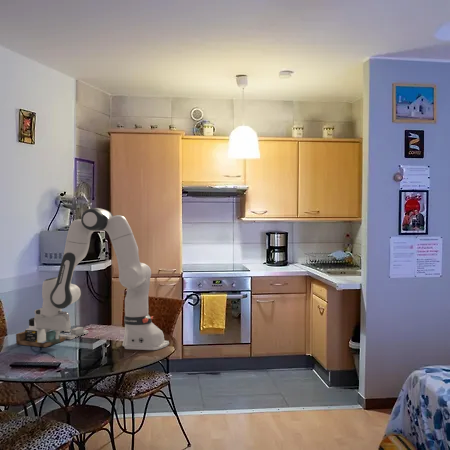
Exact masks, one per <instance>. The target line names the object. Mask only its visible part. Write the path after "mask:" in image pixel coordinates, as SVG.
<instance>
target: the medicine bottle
mask: <svg viewBox="0 0 450 450" xmlns="http://www.w3.org/2000/svg"><path fill="white" fill-rule="evenodd" d="M24 331H25V341H31V342H40V343H44V342H46V333H45V329H37V328H36V322H35V320H34V317H32V318H30V319H29V320H28V327H27V328H26V329H24Z"/></svg>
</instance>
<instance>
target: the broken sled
mask: <svg viewBox="0 0 450 450" xmlns="http://www.w3.org/2000/svg"><path fill="white" fill-rule="evenodd" d="M84 328H85V327H83V326H77V327H74V328H72V329H71V328H70V330H68V331H64V332H63V333H70V334H62V333H60V337H65V340H74V339H76V338H79V337H81V335H82V336H85V335H88V334H89V330H88V329H87V330H86V329H84ZM70 331H71V332H70ZM87 333H88V334H87ZM84 334H85V335H84ZM78 336H79V337H78ZM75 337H76V338H75Z"/></svg>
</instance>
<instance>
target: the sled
mask: <svg viewBox="0 0 450 450" xmlns="http://www.w3.org/2000/svg"><path fill="white" fill-rule="evenodd" d="M60 334H61V333H60ZM60 334H59V339H54V336H55V335H56V332H55V330H50V331H49V332H46V341H44V342H41V343H40V342H31V341H25V330H24V331H20V332H18V333H15V340H16V341H15V344H16V345H23V346H31V347H37V348H38V347H39V348H40V347H41V348H48V347H51V346H53V345H56V344H58V343H59V344H60V343H61V342H64V340H65V341H66V339H65V337H60Z"/></svg>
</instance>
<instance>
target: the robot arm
mask: <svg viewBox="0 0 450 450" xmlns="http://www.w3.org/2000/svg"><path fill="white" fill-rule="evenodd" d="M102 231H105V232H107V234H108V236H109V239H110V242H111V245H112V247H113V251H114V253H115V256H116V261H117V266H118V267H117V268H118V281H119V283H120V285H121V286H122V287H124V288H125V289H127V290H126V293H125V297H124V316H123V318H124V319H123V321H124V322H123V323H124V335H123V341H122V344H121V345H122V347H124V349H125V350H140V351H141V350H143V351H156V350H161V349H164V348H165V347H167V346H169V345H170V342H169V340H165V335H164V333H163V330H161V329H160V328H159V327H158V326H157V325H155V323H153V322H152V320H153V319H154V316H150V314H149V292H150V285H151V277H152V269H151V267H150V266H149V265H148V264H146V263H144V262H141V261H140V254H139V247H138V243H137V240H136V238H135V236H134V232H133V230H132V227H131V226H130V224H129V222H128V220H127V219H126V217H125V216H123V215H120V214H117V215H113V214H112V212H111V211H109V210H108V209H105V208H104V209H103V208H101V207H100V208H99V207H95V208H94V207H91V208H88V209H85V210H84V211H83V212H82V214H81V217H80V219H79V218H77V219H74V220H72V221H71V223H70V225H69V228H68V231H67V235H66V239H65V245H64V251H63V256H62V258H61V263H60V265H59V266H60V267H59V270H58V274H57V276H56V277H51V278H47V279H45V280H43V282H42V288H41V289H42V290H41V293H42V294H41V298H42V306H41V307H40V308H37V309H35V310H34V317H33V318H34V320H35V322H36V328H37V329H45V333H46V332H49V331H52V330H55V332H56V335H55V336H54V339H59V334H61V332H62V331H68V330H70V329H71V328H72V326H71V318H70V314H69V312H68V311H63V309H65V308H68V306H70V305H72V304H74V303H76V302H77V301H79V300H80V299H81V295H82V291H81V288H80V286H78V285H77V284H75V283H72V279H73V274H74V271H75V269H76V268H77V266H78V264H79V263H80V262H81V261H83V259H85V258H86V256H87V254H88V252H89V248H90V242H91V238H92V234H93V233H94V232H102Z"/></svg>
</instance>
